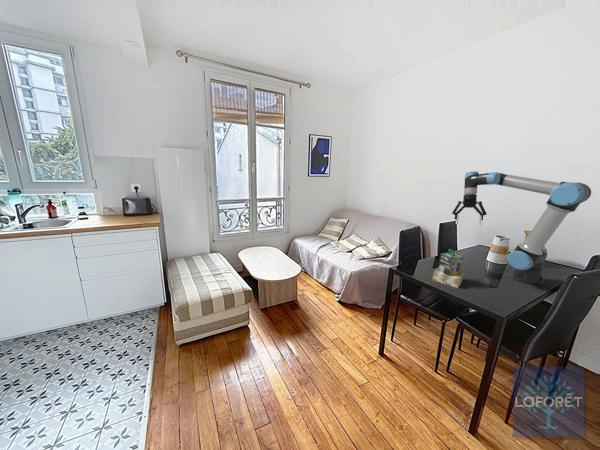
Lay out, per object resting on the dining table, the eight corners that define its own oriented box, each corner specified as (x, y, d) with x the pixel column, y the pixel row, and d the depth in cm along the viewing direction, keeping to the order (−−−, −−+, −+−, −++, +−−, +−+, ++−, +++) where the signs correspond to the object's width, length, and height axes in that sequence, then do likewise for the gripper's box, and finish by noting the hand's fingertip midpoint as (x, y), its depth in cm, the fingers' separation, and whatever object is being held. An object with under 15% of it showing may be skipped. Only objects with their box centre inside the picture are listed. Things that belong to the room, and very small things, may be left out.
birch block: (462, 281, 154) (464, 272, 153) (457, 288, 144) (459, 279, 143) (438, 274, 164) (439, 266, 162) (432, 281, 154) (433, 272, 152)
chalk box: (461, 274, 149) (465, 252, 146) (448, 275, 147) (452, 252, 144) (449, 268, 158) (453, 247, 155) (437, 269, 156) (440, 247, 153)
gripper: (489, 194, 168) (486, 225, 169) (448, 194, 176) (446, 223, 177) (494, 194, 161) (491, 225, 162) (451, 193, 169) (449, 224, 170)
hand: (468, 224), depth 170 cm, fingers open, 13 cm apart
